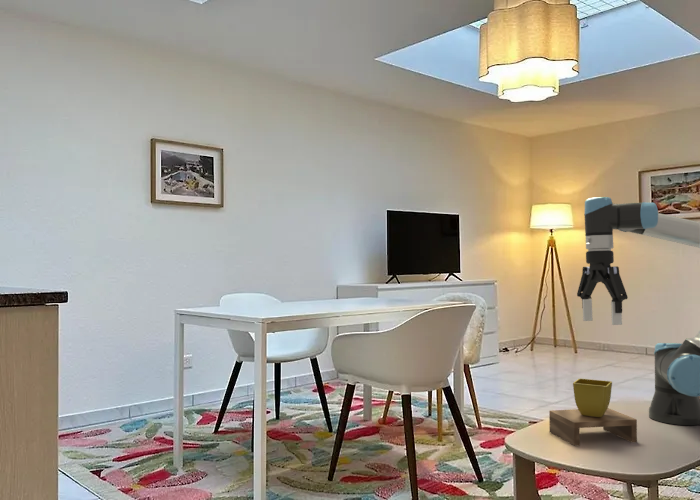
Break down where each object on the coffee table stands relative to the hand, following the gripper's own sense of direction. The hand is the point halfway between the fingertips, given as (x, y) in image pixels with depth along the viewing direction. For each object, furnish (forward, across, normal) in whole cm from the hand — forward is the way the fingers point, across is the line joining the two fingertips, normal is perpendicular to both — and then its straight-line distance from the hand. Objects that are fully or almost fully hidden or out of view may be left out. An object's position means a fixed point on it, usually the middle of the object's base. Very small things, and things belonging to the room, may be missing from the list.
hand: (601, 322), depth 180 cm
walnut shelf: (+30, +10, -11) cm, 33 cm away
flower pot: (+24, +10, -11) cm, 28 cm away
